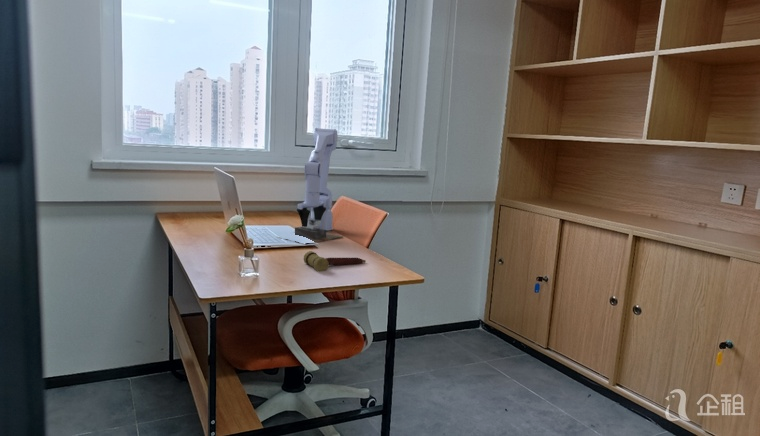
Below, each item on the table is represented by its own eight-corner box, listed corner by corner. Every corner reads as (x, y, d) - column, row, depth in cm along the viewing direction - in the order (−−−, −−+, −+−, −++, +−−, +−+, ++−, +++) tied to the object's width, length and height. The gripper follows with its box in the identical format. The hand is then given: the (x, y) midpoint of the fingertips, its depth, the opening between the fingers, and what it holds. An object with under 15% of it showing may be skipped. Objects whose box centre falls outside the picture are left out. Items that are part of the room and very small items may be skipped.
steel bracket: (306, 234, 223) (307, 217, 222) (320, 237, 219) (321, 220, 218) (301, 235, 221) (302, 218, 220) (315, 238, 217) (316, 221, 216)
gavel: (359, 251, 190) (373, 258, 182) (357, 264, 191) (371, 271, 183) (304, 251, 179) (316, 258, 171) (302, 264, 180) (315, 272, 172)
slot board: (315, 231, 234) (315, 222, 233) (343, 237, 224) (343, 229, 224) (276, 237, 216) (276, 228, 216) (304, 244, 207) (305, 235, 206)
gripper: (317, 189, 225) (315, 221, 228) (292, 191, 213) (291, 225, 216) (330, 191, 221) (328, 224, 224) (305, 194, 210) (304, 228, 212)
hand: (310, 225), depth 219 cm, fingers open, 7 cm apart
